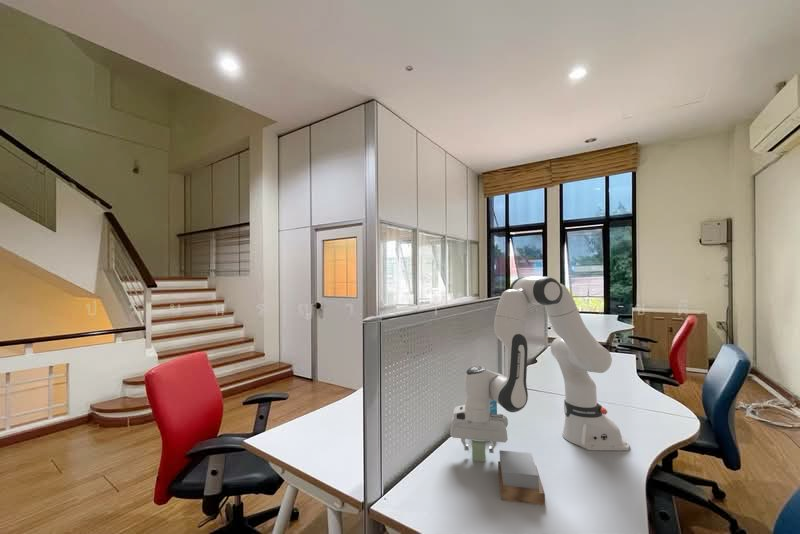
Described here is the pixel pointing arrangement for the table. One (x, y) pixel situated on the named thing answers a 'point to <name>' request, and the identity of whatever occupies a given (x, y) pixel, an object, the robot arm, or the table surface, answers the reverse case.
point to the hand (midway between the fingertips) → (478, 451)
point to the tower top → (518, 470)
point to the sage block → (478, 450)
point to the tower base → (521, 492)
